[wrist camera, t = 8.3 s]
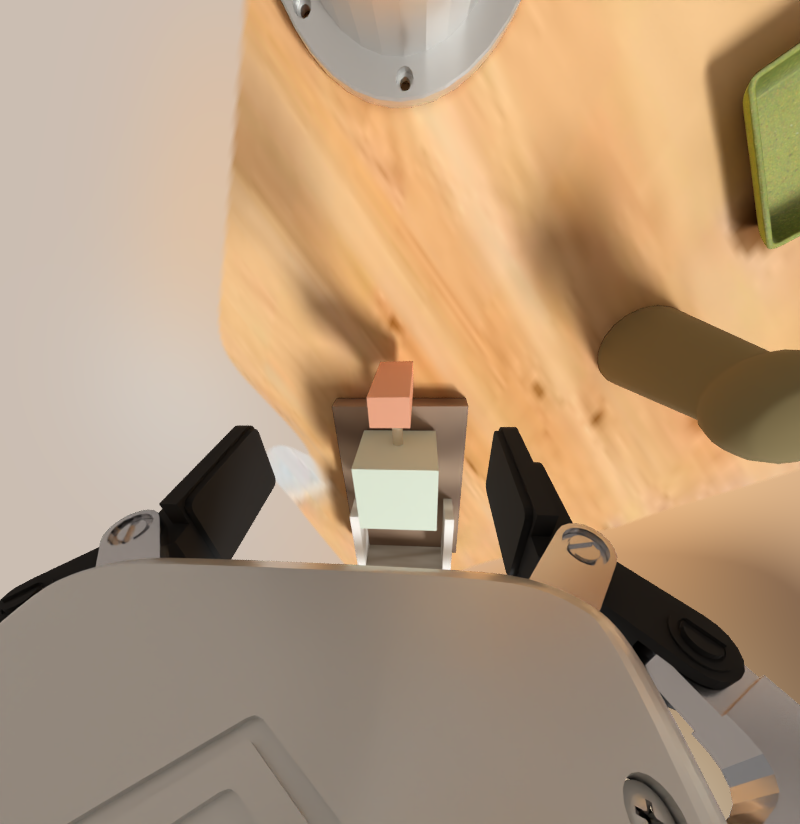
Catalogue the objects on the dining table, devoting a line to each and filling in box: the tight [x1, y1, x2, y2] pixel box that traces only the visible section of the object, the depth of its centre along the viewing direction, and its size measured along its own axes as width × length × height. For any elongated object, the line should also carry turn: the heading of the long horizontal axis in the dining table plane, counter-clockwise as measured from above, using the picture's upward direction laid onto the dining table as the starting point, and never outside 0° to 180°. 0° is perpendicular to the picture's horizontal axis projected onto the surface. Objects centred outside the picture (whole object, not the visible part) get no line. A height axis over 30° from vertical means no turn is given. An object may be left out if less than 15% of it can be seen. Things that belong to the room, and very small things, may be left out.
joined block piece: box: [351, 361, 439, 531], centre depth 22 cm, size 12×6×6 cm, turn 2°
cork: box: [598, 305, 800, 464], centre depth 17 cm, size 6×6×11 cm
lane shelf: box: [332, 398, 468, 570], centre depth 27 cm, size 18×11×4 cm, turn 2°
